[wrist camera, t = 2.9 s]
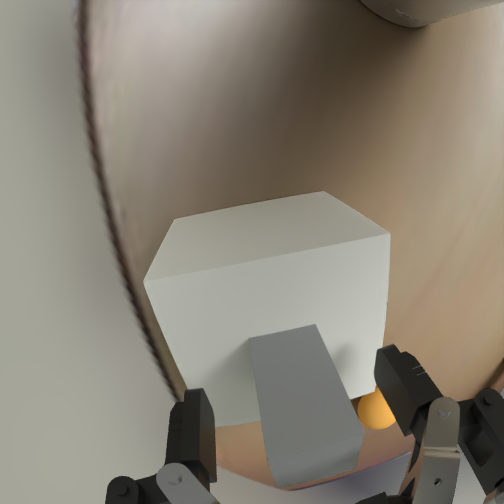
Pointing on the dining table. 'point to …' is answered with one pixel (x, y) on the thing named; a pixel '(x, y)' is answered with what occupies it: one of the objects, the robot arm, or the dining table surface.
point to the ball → (375, 411)
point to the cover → (278, 322)
